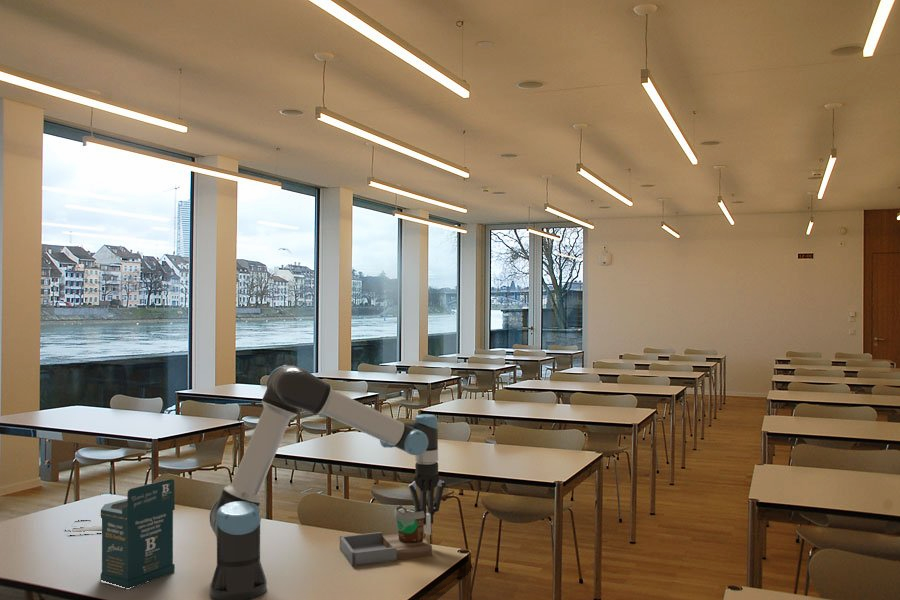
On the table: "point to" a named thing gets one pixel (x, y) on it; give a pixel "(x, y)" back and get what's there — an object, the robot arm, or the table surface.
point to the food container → (409, 524)
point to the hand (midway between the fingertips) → (427, 533)
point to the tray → (366, 549)
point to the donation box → (138, 535)
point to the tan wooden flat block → (407, 547)
